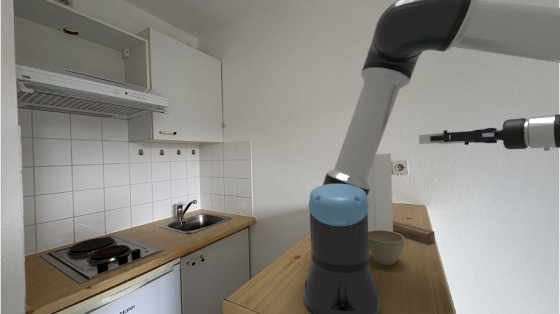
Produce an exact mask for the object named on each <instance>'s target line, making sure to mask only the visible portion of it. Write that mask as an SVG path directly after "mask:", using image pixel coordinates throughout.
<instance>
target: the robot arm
mask: <svg viewBox="0 0 560 314" xmlns="http://www.w3.org/2000/svg"><path fill="white" fill-rule="evenodd" d="M375 25H376V26H375V28H374V29H375V30H374V33H373V37H372V40H371V42H370V46H369V48H368V51H367V54H366V58H365V61H364V63H363V64H364V65H363V66H362V69H361V73H360V75H361V76H360V77H362V80H363V81H364V82H363V84H362V89H361V90H360V91H361V92H360V93H359V97H358V99H357V103H356V105H355V108H354V110H353V114H352V117H351V120H350V122H349V126H348V129H347V131H346V134H345V136H344V139H343V143H342V146H341V148H340V151H339V154H338V158H337V160H336V163H335V165H334V168H333V169H331V170H329V171H327V172H326V174H325V176H324V179H323V183H322V185H321V186H316V187H315V188H313V189H312V190H311V192H310V193H309V201H308V208H309V223H310V224H309V229H310V230H309V231H310V255H311V256H310V259H311V261H310V265H309V269H308V273H307V278H306V280H305V281H304V287H303V298H304V304H305V307H306V308H307V309H308V310H309V311H310V312H311V313H312V314H380V310H381V299H380V298H381V296H380V292H379V290H378V287H377V286H376V283H375V280H374V279H375V278H374V276H373V273H372V270H371V268H370V250H369V241H368V209H369V205H368V201H367V196H368V193H369V190H370V186H369V184H368V182H367V177H368V175H369V172H370V169H371V166H372V164H373V161H374V158H375V155H376V154H378V149H379V147H380V144H381V141H382V138H383V136H384V134H385V133H384V132H385V131H386V128H387V125H388V123H389V119H390V117H391V114H392V112H393V108H394V106H395V103H396V101H397V97H398V95H399V92H400V90H401V89H403V88H404V87H407V85H409V84H410V81H411V78H412V76H413V73H414V71H415V68H416V65H417V62H418V60H419V58H420V56H421V55H422V54H423V52H425V51H435V52H436V51H437V52H443V53H444V52H447V51H448V50H450V49H453V48H458V49H464V50H471V51H479V52H483V53H485V52H486V53H491V54H497V55H504V56H512V57H519V58H525V59H533V60H537V61H547V62H552V63H559V64H560V7H552V6H544V5H533V4H526V3H518V2H517V3H514V2H507V1H506V2H505V1H496V0H396V1H394V2H393V3H391V4H390V5H389V6H388V7H386V9H385V10H384V11H383V12H382V14H381V15H380V17H379V18H378V20H377V22H376V24H375ZM442 131H443V132H439V133H428V134H426V133H425V134H418V141H419V143H418V144H419V145H428V144H429V145H430V144H438V145H447V144H448V145H449V144H450V145H451V144H464V146H465V145H466V146H467V145H469V144H470V143H474V144H475V143H476V144H477V143H478V144H479V143H481V144H482V143H483V144H497V143H498V141H502V144H503V146H504V148H505V149H506V150H526V149H528V147H530V149H542V148H543V151H545V152H548V151H551V148H552V149H555V148H556V149H560V113H559V114H547V115H537V116H536V115H535V116H531V117H529V118H528V119H527V118H525V117H520V118H513V119H506V120H504V122H503V125H502V129H499V130H498V129H497V127H496V128H495V127H487V128H481V129H474V130H467V131H453V132H452V131H451V132H449V131H448V129H445V130H442Z"/></svg>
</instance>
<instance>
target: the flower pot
mask: <svg viewBox="0 0 560 314" xmlns="http://www.w3.org/2000/svg"><path fill="white" fill-rule="evenodd" d="M368 241H369V253H370V254H371V256H372V258H373V259H374V261H375V262H377V263H378V264H380V265H384V266H392V265H394V264H395V263H396V262H397V261H398V260H399V257H400V256H401V253H402V251H403V248H404V243H405V238H404V237H403V236H402V235H401V234H398V233H396V232H392V231H387V230H371V231H368Z"/></svg>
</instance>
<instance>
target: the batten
mask: <svg viewBox="0 0 560 314" xmlns="http://www.w3.org/2000/svg"><path fill="white" fill-rule="evenodd" d="M393 232H396V233H398V234H401V235H402V236H403V237H404V239H407V240H411V241H413V242H417V243H420V244H424V245H425V246H429V245H432V244H435V239H436V238H435V231H434V230H429V229H426V228H422V227H418V226H414V225H411V224H407V223H402V222H399V221H395V220H393Z"/></svg>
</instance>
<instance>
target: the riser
mask: <svg viewBox="0 0 560 314" xmlns="http://www.w3.org/2000/svg"><path fill="white" fill-rule="evenodd" d="M367 182H368V184H369V186H370V190H369V193H368V196H367V201H368V205H369V209H368V231H371V230H387V231H392V232H393V221H394V220H393V218H394V217H393V214H394V213H393V186H392V185H393V184H392V183H393V180H392V154H391V152H390V153H376V155H375V158H374V161H373V164H372V166H371V169H370V172H369V175H368V177H367Z"/></svg>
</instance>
